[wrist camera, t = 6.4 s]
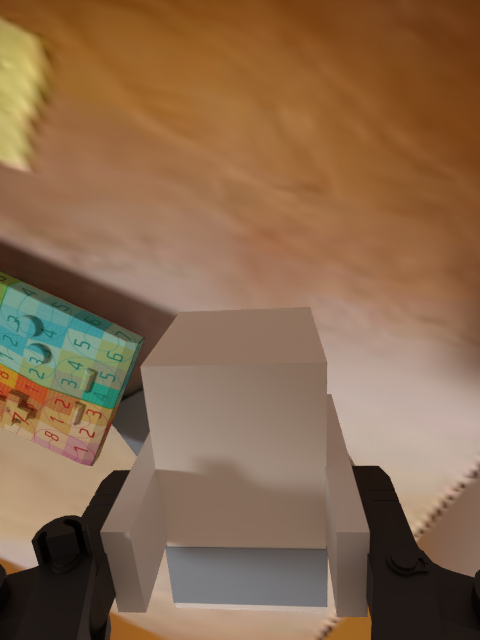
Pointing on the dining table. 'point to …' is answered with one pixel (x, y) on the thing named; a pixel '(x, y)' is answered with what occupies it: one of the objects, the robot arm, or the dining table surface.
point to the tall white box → (241, 458)
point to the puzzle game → (60, 370)
